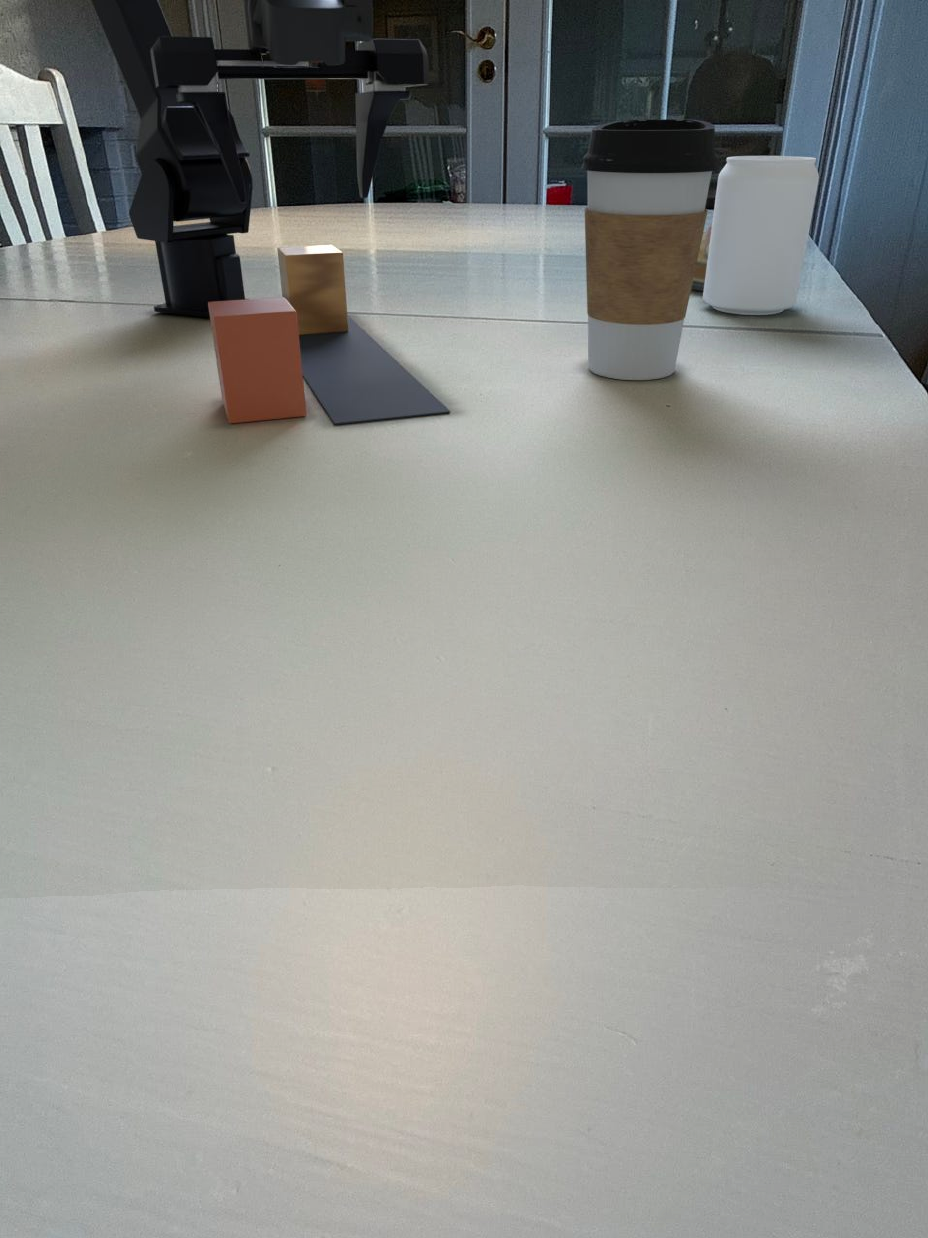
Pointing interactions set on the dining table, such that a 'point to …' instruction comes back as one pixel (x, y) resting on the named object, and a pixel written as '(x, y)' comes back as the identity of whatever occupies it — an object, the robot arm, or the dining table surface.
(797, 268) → the beverage can
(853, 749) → the dining table surface
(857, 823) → the dining table surface
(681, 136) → the coffee cup
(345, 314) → the wood block
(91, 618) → the dining table surface
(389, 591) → the dining table surface
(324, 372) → the line strip
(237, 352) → the terracotta block
